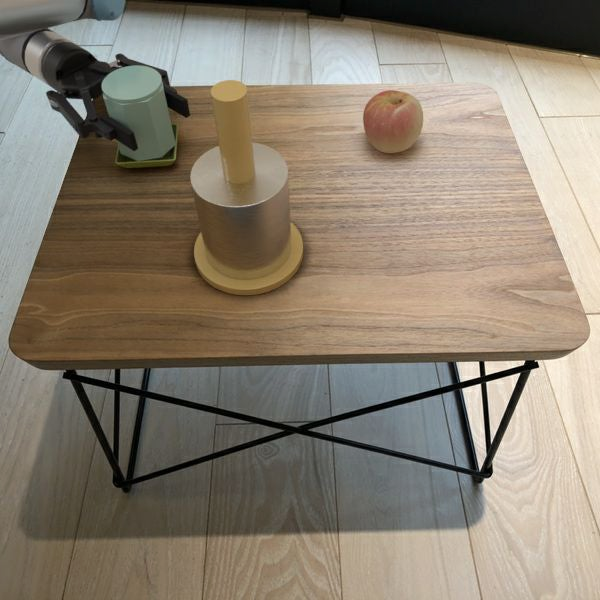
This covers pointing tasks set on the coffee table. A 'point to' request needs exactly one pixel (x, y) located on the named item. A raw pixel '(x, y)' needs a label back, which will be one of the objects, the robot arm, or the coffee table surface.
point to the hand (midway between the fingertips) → (160, 124)
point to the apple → (393, 121)
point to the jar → (140, 110)
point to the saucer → (162, 161)
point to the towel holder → (243, 205)
